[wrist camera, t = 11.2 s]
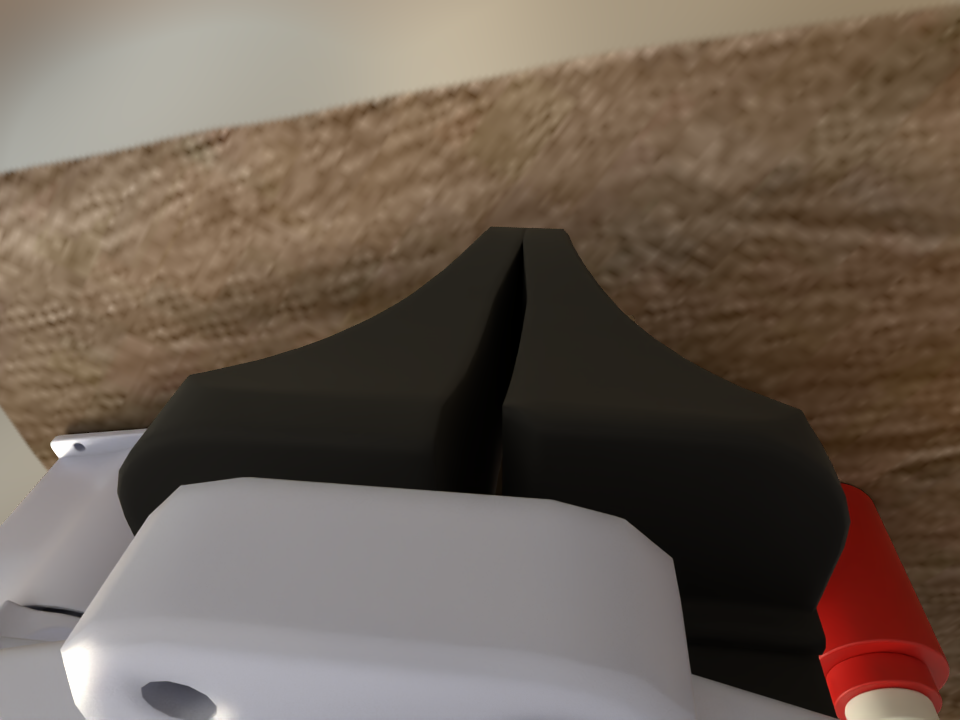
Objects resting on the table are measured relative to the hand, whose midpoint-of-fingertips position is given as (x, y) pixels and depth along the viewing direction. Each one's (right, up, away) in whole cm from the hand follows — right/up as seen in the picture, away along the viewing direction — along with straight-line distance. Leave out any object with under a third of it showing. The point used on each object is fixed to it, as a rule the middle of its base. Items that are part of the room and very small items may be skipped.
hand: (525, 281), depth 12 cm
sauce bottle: (+13, -8, +17) cm, 23 cm away
